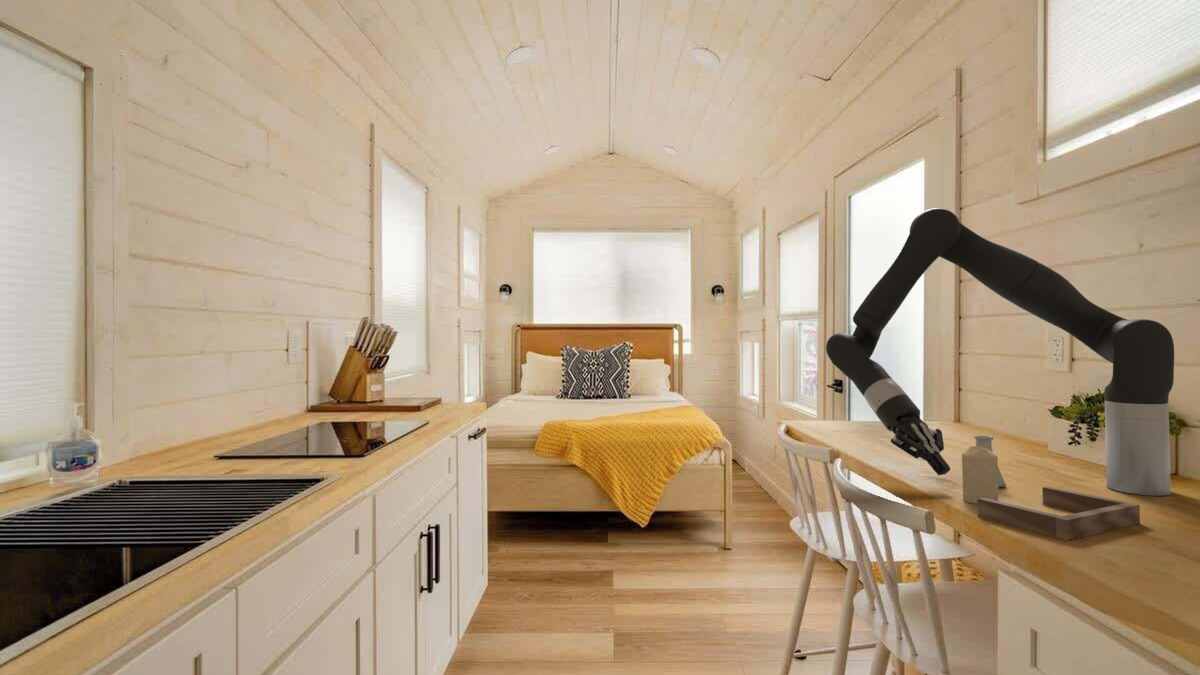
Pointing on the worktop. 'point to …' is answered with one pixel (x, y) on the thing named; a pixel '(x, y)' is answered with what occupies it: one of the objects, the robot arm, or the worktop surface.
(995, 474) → the beige milk carton
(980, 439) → the flask
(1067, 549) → the worktop surface
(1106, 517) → the walnut bay
